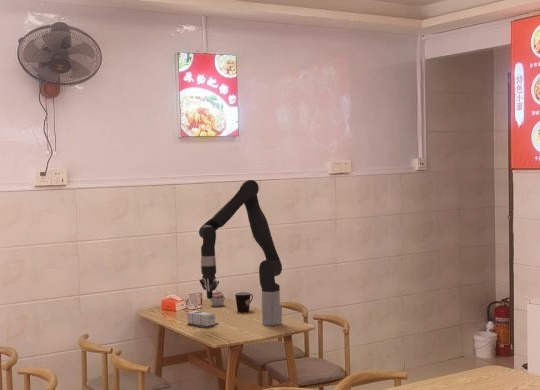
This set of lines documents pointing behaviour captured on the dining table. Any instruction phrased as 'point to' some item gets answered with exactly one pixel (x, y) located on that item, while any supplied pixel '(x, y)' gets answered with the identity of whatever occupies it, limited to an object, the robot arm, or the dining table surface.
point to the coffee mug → (243, 301)
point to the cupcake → (217, 298)
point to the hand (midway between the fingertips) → (209, 298)
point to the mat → (200, 325)
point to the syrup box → (201, 318)
